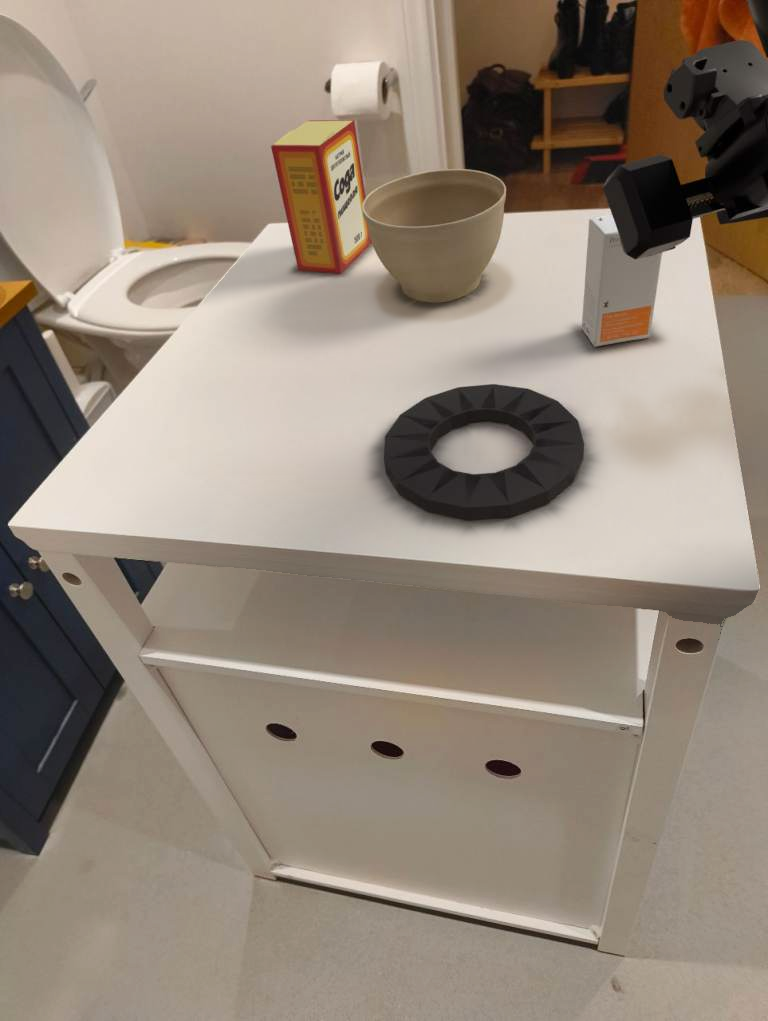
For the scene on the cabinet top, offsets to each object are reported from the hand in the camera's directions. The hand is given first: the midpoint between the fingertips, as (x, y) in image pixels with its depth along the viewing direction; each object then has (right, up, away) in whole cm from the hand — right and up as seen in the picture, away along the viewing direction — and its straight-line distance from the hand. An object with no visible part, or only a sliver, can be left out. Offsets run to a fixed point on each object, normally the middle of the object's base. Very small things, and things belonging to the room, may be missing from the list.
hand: (672, 232), depth 62 cm
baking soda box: (-31, +11, +39) cm, 51 cm away
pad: (-15, -18, +4) cm, 24 cm away
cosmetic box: (0, -5, +15) cm, 16 cm away
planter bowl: (-17, +4, +28) cm, 33 cm away
